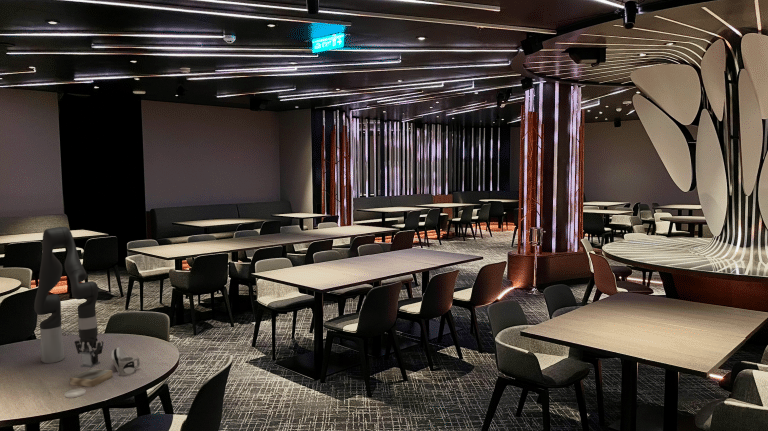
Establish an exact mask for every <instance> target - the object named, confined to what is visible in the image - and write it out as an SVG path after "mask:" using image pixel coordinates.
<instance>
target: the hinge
mask: <svg viewBox="0 0 768 431" xmlns="http://www.w3.org/2000/svg"><path fill="white" fill-rule="evenodd" d="M110 354H111V355H110V356H111V360H112V362H113V365H114V367H115V369H116V371H117V373H119V362H118V360H119V359H121V358H125V357H130V356H128V355H127V354H126V352H125V351H124V349H123V347H122V346H118V347H117V348H114V349H112V350H111V353H110Z"/></svg>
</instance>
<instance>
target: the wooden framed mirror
mask: <svg viewBox="0 0 768 431" xmlns="http://www.w3.org/2000/svg"><path fill="white" fill-rule="evenodd" d="M113 376H114V375H113V370H111V369H98V368H88V369H87V370H85V371H83V372H81V373H78V374H76V375H75V376H72V377H70V378H69V382H70V386H78V387H79V386H81V387H87V388H88V387H89V388H94V387H96V386H98V385H99V384H102V383H104V382H105V381H107V380H109V379H111V378H113Z"/></svg>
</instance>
